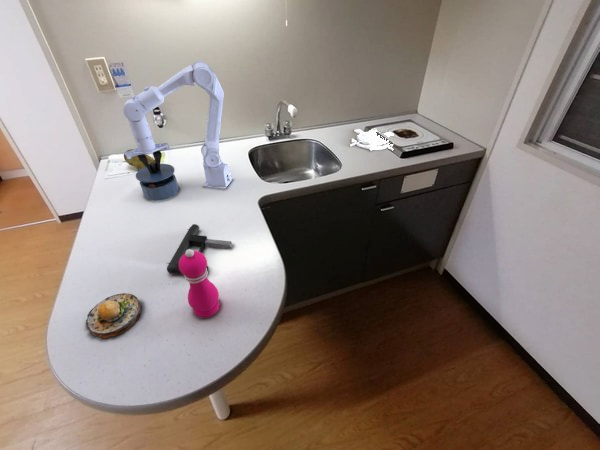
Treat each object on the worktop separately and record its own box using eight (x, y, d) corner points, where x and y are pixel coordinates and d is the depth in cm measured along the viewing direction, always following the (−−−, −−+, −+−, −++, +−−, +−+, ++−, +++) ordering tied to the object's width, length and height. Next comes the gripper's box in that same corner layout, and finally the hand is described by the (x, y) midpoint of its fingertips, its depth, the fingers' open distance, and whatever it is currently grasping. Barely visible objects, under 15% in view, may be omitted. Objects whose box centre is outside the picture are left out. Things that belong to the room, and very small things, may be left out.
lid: (181, 167, 119) (178, 157, 116) (162, 185, 109) (158, 174, 106) (150, 164, 121) (146, 154, 118) (128, 181, 111) (124, 170, 108)
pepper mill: (195, 297, 80) (175, 240, 68) (223, 295, 81) (208, 238, 68) (189, 321, 74) (167, 263, 62) (219, 318, 75) (203, 261, 62)
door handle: (235, 227, 99) (187, 222, 99) (217, 273, 83) (160, 267, 84) (236, 235, 101) (188, 230, 101) (219, 281, 85) (162, 275, 86)
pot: (184, 186, 124) (181, 173, 120) (168, 203, 114) (163, 189, 110) (156, 183, 126) (152, 169, 122) (138, 199, 116) (132, 186, 112)
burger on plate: (147, 295, 81) (137, 276, 76) (133, 335, 71) (122, 316, 67) (99, 300, 80) (86, 280, 75) (79, 341, 70) (63, 322, 66)
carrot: (156, 187, 121) (149, 191, 121) (152, 181, 119) (145, 185, 119) (162, 196, 116) (154, 200, 115) (157, 190, 114) (150, 194, 113)
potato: (144, 175, 131) (137, 158, 126) (124, 168, 136) (118, 151, 131) (159, 167, 137) (154, 150, 132) (140, 160, 142) (134, 144, 137)
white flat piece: (348, 148, 151) (348, 146, 150) (354, 128, 172) (355, 125, 171) (393, 153, 146) (393, 150, 146) (393, 131, 168) (394, 129, 167)
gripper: (122, 145, 100) (136, 181, 108) (167, 135, 106) (177, 170, 115) (118, 138, 105) (132, 173, 113) (162, 129, 111) (172, 163, 119)
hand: (154, 171), depth 114 cm, fingers closed on lid, 2 cm apart
